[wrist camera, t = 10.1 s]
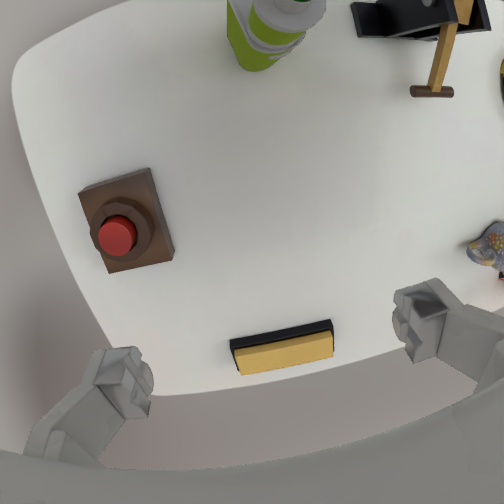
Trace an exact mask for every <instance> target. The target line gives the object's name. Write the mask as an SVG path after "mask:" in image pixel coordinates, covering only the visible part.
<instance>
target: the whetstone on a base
mask: <svg viewBox="0 0 504 504" xmlns="http://www.w3.org/2000/svg"><path fill="white" fill-rule="evenodd" d="M230 349H231V352H232V355H233V358H234V361H235V364H236V367H237V370H238V371H240V374H241V376H242V375H248V374H254V373H260V372H265V371H270V370H275V369H280V368H285V367H290V366H295V365H300V364H304V363H309V362H313V361H317V360H321V359H326V358H330V357H333V352H334V329H333V324H332V322H331V320H330V319H329V320H324V321H320V322H316V323H311V324H307V325H302V326H298V327H293V328H289V329H284V330H279V331H274V332H269V333H264V334H259V335H254V336H248V337H243V338H238V339H232V340H230Z"/></svg>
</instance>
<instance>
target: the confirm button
mask: <svg viewBox="0 0 504 504" xmlns="http://www.w3.org/2000/svg"><path fill="white" fill-rule="evenodd" d="M98 239H99V243H100V245H101V247H102V248H103V250H104V251H106V252H107V253H108V254H110V255H114V256H121V255H124V254H126V253H127V252H128V251H129V250H130V248H131V247H132V245H133V243H134V242H135V239H136V230H135V227H134V225H133V224H132V222H131V221H129V220H128V219H127V218H125V217H121V216H115V217H112V218H110V219H108V220H107V222H106V223H105V224H104V225H103V226H102V227H101V229H100V231H99V235H98Z"/></svg>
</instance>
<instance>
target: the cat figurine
mask: <svg viewBox="0 0 504 504" xmlns="http://www.w3.org/2000/svg"><path fill="white" fill-rule="evenodd" d="M499 279H502V280H504V275H503V273H502V272H500V273H499Z"/></svg>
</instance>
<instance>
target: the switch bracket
mask: <svg viewBox="0 0 504 504" xmlns="http://www.w3.org/2000/svg"><path fill="white" fill-rule="evenodd" d="M351 9H352V13H353V17H354V21H355V26H356V30H357V35H358V37H372V38H399V39H413V40H424V41H437V40H438V39H437V37H439V34H440V29H441V26H444V25H449V24H454V23H458V27H457V31H456V34H463V33H472V32H482V31H491V26H490V21H489V17H488V13H487V9H486V5H485V1H484V0H474V1H473V6H472V11H471V15H470V20H469V24H468V25H465V24H460V23H459V20H458V16H457V12H456V8H455V4H454V0H378V1H376V3H363V2H354V3H353V4H351Z"/></svg>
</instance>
